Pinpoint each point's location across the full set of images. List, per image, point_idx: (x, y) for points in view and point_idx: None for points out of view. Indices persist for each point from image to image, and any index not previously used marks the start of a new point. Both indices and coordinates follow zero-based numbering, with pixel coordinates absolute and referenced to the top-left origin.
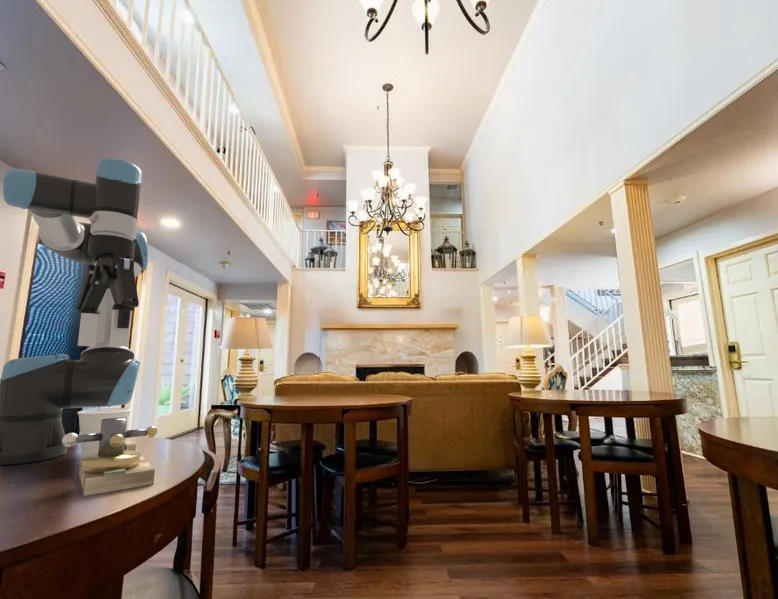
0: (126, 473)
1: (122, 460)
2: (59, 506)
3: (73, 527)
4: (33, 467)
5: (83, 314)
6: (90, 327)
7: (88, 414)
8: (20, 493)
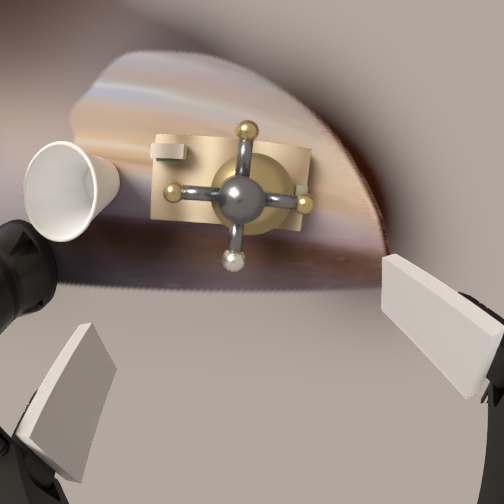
0: (305, 184)
1: (292, 188)
2: (315, 251)
3: (385, 248)
4: (81, 260)
5: (80, 475)
6: (74, 400)
7: (87, 226)
8: (222, 280)
